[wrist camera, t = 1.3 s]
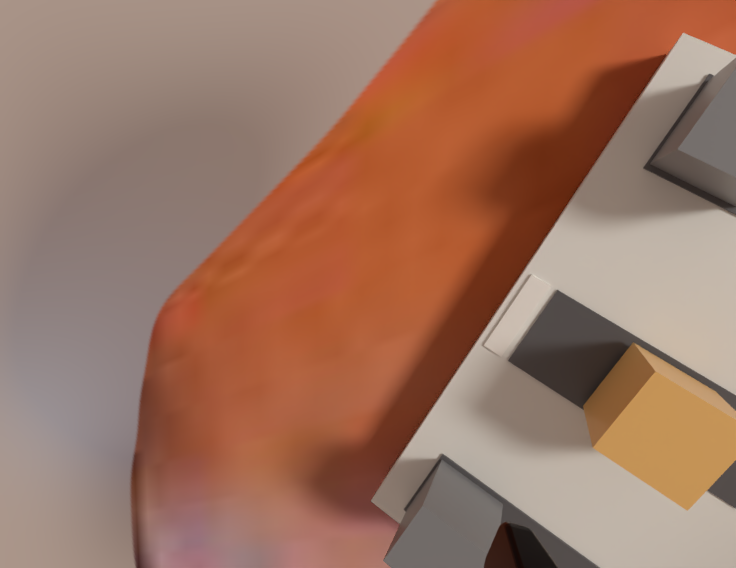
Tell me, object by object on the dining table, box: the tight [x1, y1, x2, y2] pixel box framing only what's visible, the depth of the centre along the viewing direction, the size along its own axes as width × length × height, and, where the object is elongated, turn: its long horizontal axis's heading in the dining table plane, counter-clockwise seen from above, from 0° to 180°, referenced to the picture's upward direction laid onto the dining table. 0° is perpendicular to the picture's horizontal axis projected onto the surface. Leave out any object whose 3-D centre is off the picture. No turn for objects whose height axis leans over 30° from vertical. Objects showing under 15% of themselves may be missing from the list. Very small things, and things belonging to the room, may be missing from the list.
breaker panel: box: [371, 33, 736, 568], centre depth 16 cm, size 12×22×6 cm, turn 150°
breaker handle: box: [583, 342, 736, 511], centre depth 15 cm, size 3×3×4 cm
